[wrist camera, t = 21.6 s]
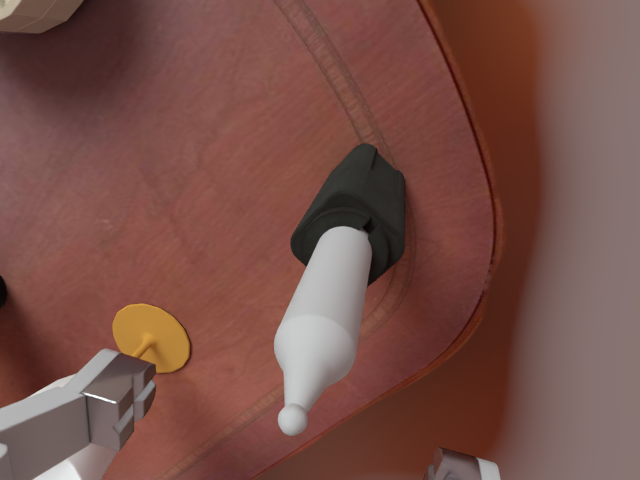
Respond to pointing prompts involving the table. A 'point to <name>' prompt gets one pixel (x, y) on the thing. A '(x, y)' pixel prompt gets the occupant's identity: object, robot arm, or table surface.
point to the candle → (337, 276)
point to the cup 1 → (2, 292)
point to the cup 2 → (138, 341)
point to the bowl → (34, 14)
